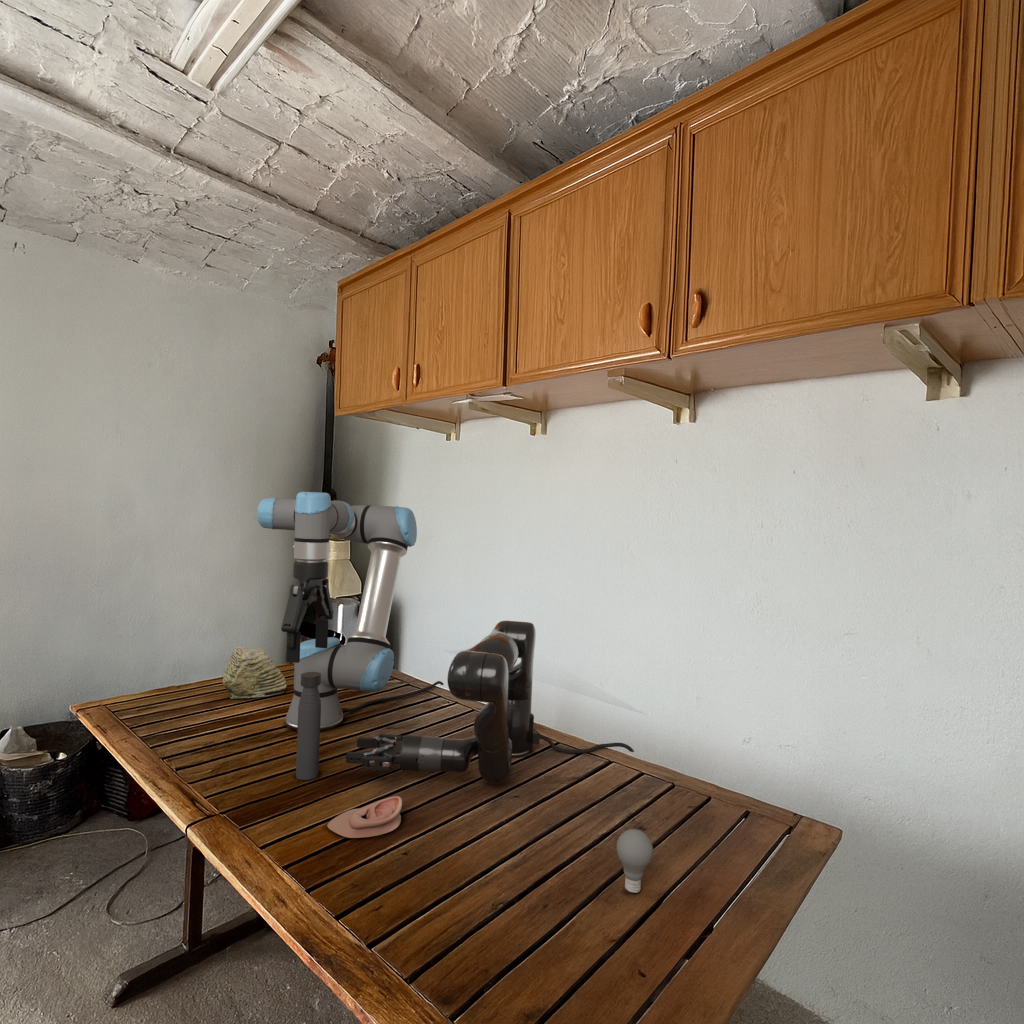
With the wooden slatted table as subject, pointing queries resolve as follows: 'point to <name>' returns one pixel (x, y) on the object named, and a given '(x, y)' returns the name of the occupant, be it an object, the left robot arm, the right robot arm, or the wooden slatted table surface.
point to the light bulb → (634, 857)
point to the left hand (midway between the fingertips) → (307, 654)
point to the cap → (310, 679)
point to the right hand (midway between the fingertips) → (352, 749)
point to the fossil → (252, 674)
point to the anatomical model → (369, 819)
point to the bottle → (308, 734)
